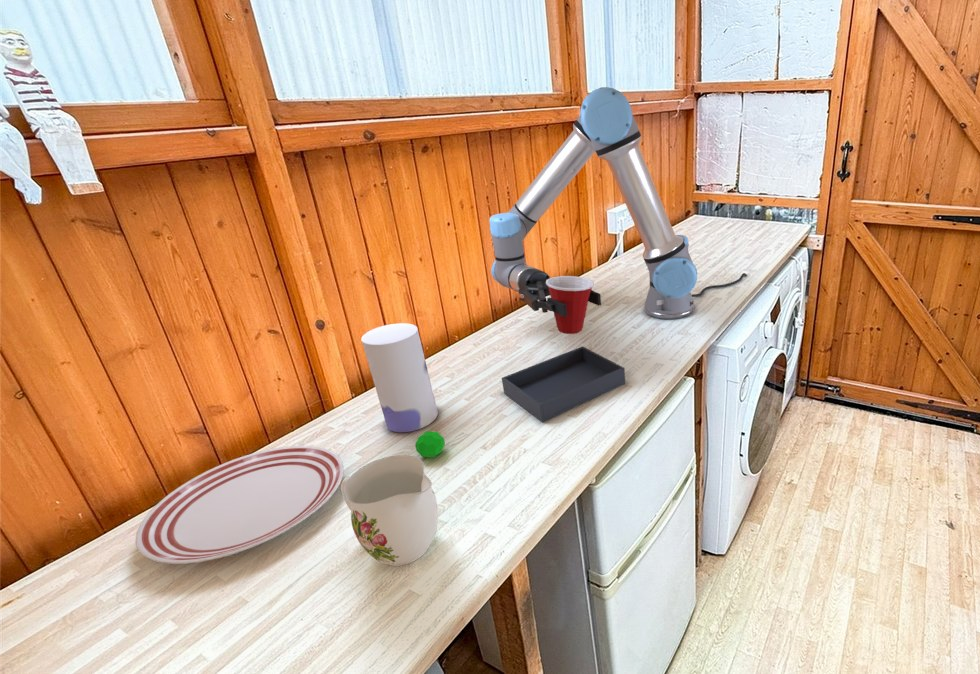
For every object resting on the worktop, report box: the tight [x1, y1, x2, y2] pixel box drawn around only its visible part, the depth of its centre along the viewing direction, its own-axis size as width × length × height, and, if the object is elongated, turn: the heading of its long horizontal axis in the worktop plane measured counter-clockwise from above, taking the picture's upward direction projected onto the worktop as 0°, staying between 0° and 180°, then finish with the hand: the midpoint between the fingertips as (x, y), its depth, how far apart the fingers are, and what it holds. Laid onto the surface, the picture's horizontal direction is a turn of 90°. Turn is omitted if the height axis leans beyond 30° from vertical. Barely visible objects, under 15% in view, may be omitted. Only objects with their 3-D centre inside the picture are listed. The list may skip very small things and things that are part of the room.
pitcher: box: [340, 454, 439, 567], centre depth 75 cm, size 11×18×14 cm, turn 68°
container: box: [360, 322, 439, 433], centre depth 105 cm, size 10×10×20 cm
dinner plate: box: [135, 445, 345, 565], centre depth 85 cm, size 27×27×3 cm
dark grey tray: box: [501, 346, 626, 423], centre depth 117 cm, size 22×16×4 cm
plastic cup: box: [546, 275, 595, 335], centre depth 119 cm, size 11×11×12 cm
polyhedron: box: [414, 430, 446, 459], centre depth 97 cm, size 5×5×5 cm
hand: (582, 305), depth 115 cm, fingers closed on plastic cup, 9 cm apart
